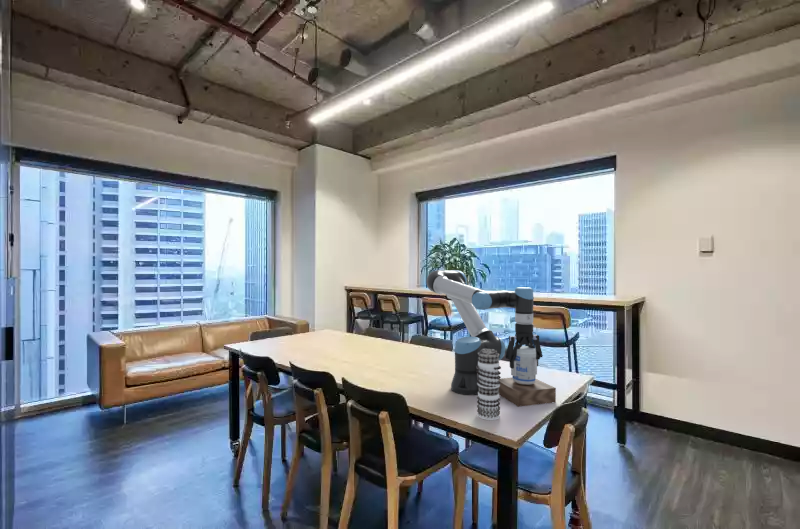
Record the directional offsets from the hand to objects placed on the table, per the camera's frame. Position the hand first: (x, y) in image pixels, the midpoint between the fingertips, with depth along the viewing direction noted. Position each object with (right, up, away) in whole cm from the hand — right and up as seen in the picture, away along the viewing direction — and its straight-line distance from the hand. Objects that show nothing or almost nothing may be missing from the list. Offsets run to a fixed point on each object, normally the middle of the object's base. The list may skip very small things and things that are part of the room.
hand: (524, 374), depth 166 cm
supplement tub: (0, -3, 0) cm, 3 cm away
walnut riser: (0, -10, 0) cm, 10 cm away
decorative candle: (-20, -10, -20) cm, 30 cm away
